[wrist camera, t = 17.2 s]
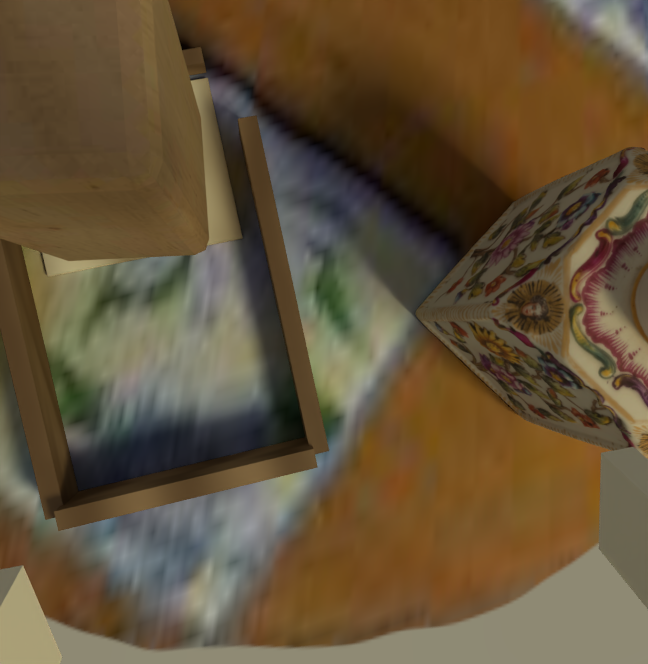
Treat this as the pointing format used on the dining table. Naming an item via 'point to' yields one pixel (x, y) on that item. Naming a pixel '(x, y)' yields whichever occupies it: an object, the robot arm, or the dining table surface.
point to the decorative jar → (561, 304)
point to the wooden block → (98, 131)
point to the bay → (13, 282)
